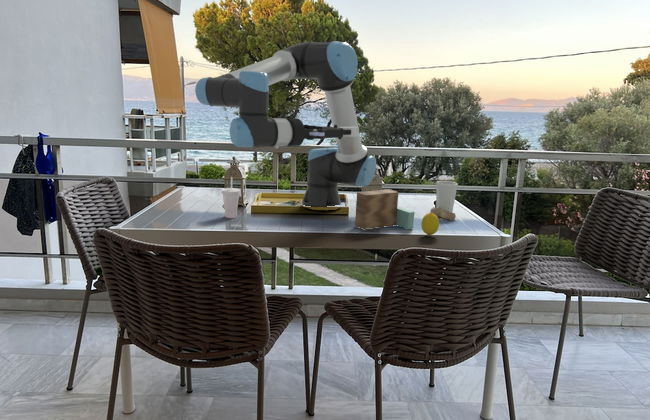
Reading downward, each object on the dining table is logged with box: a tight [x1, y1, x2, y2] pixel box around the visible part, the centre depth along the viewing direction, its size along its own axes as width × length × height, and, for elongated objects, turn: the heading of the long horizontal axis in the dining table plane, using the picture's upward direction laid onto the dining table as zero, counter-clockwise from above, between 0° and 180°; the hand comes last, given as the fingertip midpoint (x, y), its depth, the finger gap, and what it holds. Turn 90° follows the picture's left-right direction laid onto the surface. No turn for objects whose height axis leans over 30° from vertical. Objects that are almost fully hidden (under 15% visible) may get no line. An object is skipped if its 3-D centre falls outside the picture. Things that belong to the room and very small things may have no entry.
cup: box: [435, 180, 458, 213], centre depth 192 cm, size 8×8×12 cm
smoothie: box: [221, 176, 241, 219], centre depth 172 cm, size 6×6×14 cm
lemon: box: [420, 212, 440, 237], centre depth 160 cm, size 6×6×8 cm
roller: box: [429, 206, 456, 221], centre depth 187 cm, size 10×3×3 cm
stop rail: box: [396, 205, 415, 230], centre depth 174 cm, size 2×16×6 cm, turn 32°
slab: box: [354, 189, 399, 229], centre depth 169 cm, size 14×5×12 cm, turn 124°
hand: (357, 131), depth 148 cm, fingers closed
